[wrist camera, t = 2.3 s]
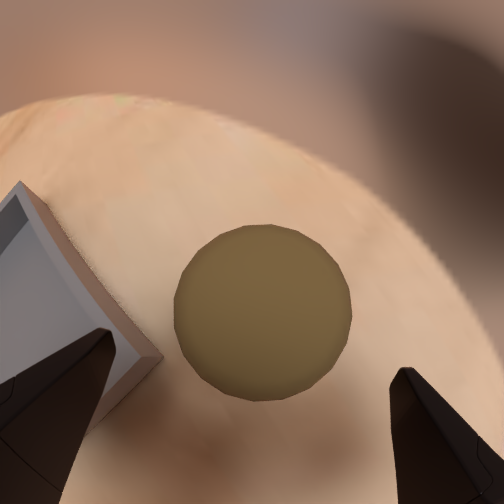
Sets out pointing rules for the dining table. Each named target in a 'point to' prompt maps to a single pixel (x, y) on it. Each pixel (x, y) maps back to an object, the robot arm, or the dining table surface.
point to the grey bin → (58, 301)
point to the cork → (262, 312)
